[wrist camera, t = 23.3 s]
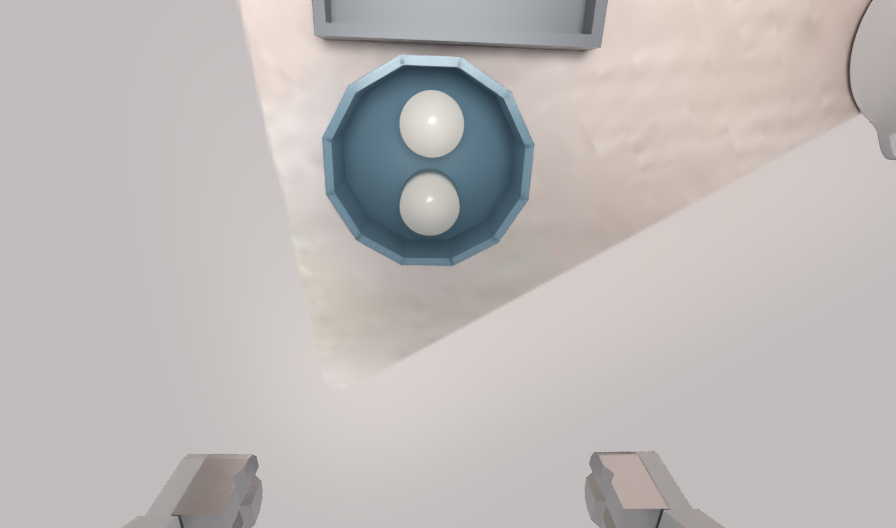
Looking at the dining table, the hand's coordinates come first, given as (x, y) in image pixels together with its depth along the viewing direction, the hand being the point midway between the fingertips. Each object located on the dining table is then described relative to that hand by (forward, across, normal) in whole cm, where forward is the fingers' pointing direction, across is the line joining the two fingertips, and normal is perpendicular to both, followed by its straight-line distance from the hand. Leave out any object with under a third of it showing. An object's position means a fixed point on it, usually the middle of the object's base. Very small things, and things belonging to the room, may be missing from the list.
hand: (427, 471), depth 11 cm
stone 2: (+28, 0, 0) cm, 28 cm away
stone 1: (+28, 0, -6) cm, 29 cm away
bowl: (+29, 0, -3) cm, 29 cm away
